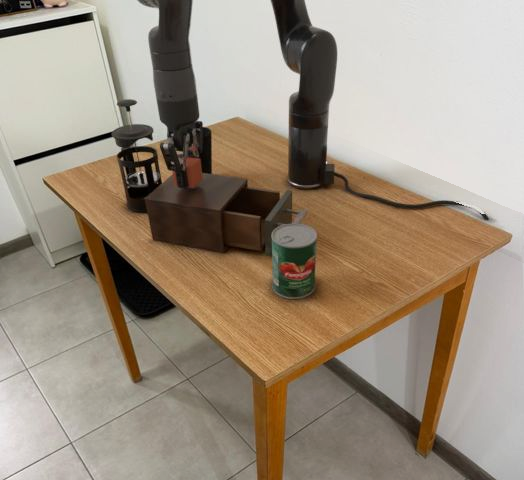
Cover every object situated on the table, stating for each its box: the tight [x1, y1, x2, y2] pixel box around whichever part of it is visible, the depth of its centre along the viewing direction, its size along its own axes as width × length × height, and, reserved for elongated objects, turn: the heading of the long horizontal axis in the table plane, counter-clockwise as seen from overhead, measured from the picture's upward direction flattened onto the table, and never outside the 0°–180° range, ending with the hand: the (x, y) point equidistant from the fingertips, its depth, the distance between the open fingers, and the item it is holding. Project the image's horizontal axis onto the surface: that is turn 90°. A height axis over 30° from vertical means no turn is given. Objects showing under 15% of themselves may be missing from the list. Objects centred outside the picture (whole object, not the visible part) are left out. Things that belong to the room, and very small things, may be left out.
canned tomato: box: [271, 223, 318, 300], centre depth 90 cm, size 8×8×11 cm
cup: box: [189, 126, 213, 174], centre depth 125 cm, size 8×8×12 cm
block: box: [171, 157, 203, 188], centre depth 102 cm, size 4×4×4 cm
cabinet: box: [144, 173, 249, 254], centre depth 107 cm, size 17×15×10 cm
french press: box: [111, 98, 163, 214], centre depth 113 cm, size 12×9×23 cm
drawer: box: [222, 186, 308, 257], centre depth 104 cm, size 20×13×8 cm
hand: (188, 181), depth 104 cm, fingers closed on block, 4 cm apart
